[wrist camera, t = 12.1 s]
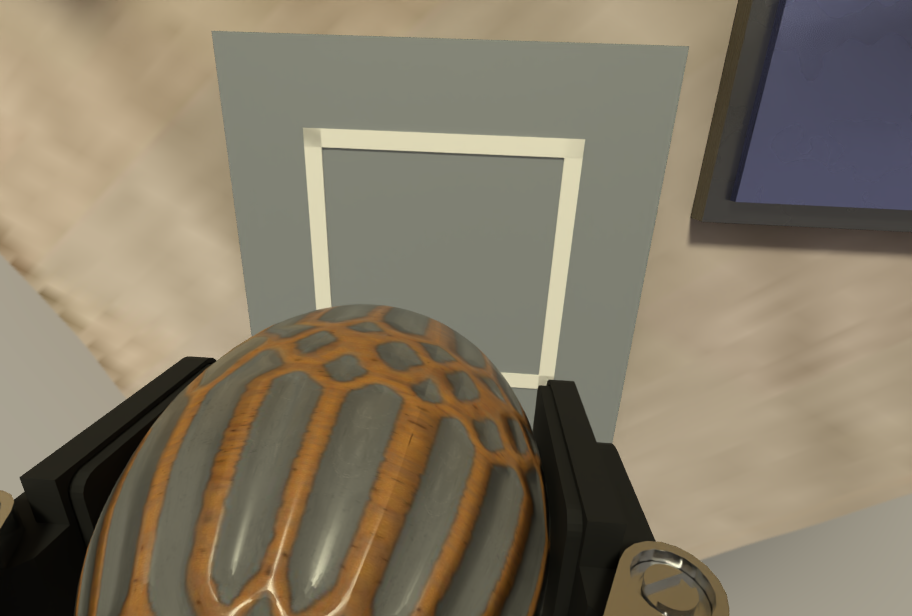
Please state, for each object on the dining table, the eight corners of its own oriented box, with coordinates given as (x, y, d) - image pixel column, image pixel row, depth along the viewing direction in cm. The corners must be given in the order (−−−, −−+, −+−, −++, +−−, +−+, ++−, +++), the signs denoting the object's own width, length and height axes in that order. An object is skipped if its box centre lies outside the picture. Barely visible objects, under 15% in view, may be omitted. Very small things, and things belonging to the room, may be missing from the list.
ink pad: (1088, -89, 17) (1150, -112, 15) (952, 230, 21) (989, 237, 20) (759, -95, 18) (786, -118, 16) (690, 217, 22) (706, 223, 20)
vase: (228, 446, 12) (-285, 1058, 4) (304, 215, 10) (-541, 575, 2) (458, 538, 13) (410, 1225, 5) (582, 342, 11) (905, 1035, 2)
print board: (679, 50, 19) (690, 45, 18) (606, 439, 26) (611, 451, 25) (224, 35, 20) (210, 30, 19) (271, 415, 27) (262, 426, 26)
